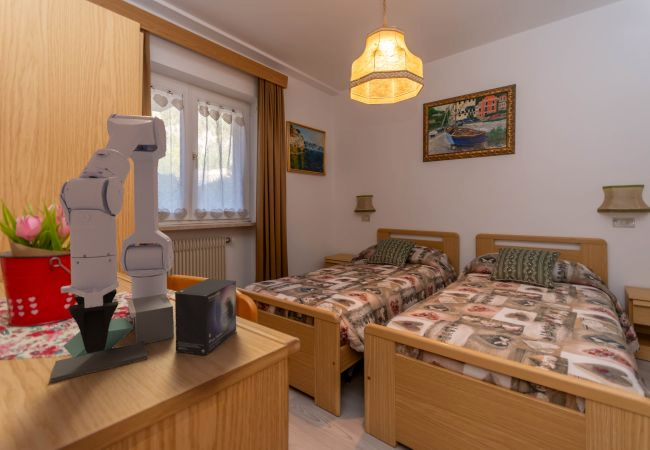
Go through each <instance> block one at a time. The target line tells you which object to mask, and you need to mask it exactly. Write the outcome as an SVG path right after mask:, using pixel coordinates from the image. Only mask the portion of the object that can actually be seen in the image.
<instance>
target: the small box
mask: <svg viewBox="0 0 650 450" xmlns="http://www.w3.org/2000/svg"><path fill="white" fill-rule="evenodd" d="M236 291H237V280H230V279H220V278H210V277H209V278H207V279H204V280H202V281H199V282H197V283H195V284H192V285H190V286H187V287H184V288H183V289H180V290H177V291H175V292H174V302H175V303H174V307H175V308H174V312H175V314H174V315H175V316H174V317H175V352H177V353H178V352H179V353H185V354H187V353H188V354H192V355H194V354H195V355H203V356H207V355H209V354H210V353H212V351H214V350H215V349H216V348H217V347H219V346H220V345H221V344H222V343H223V342H225V341H226V340H227V339H229V338H230V336H232V335H233V334H234V333H236V332H237V296H236V295H237V292H236ZM235 331H236V332H235Z"/></svg>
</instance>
